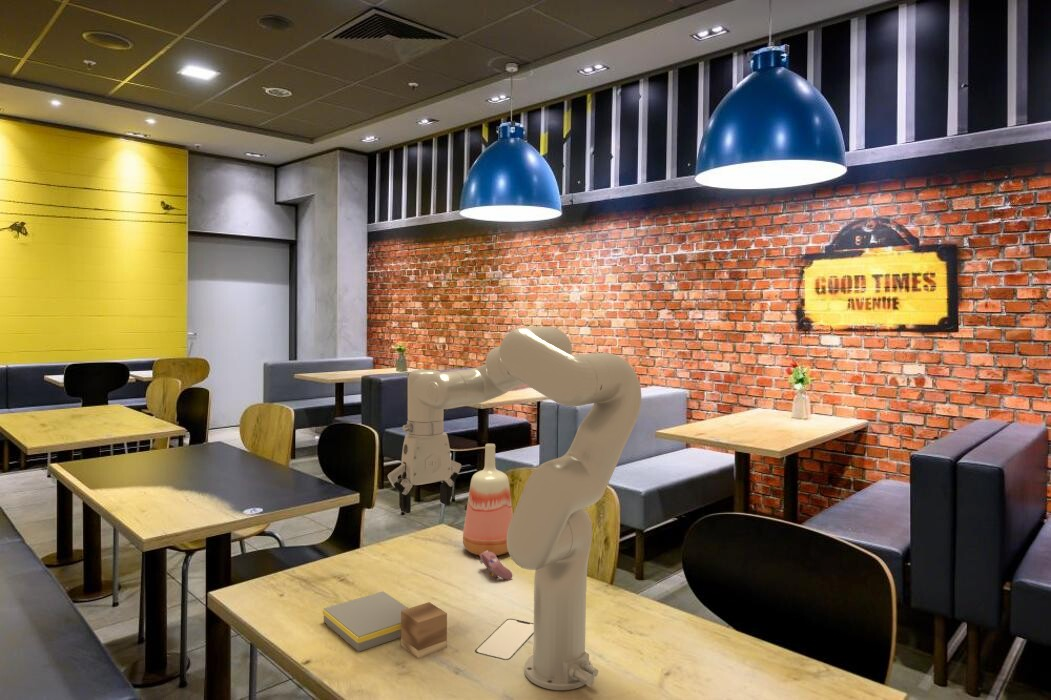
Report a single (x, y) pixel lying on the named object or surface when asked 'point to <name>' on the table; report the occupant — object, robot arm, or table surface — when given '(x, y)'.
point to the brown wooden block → (423, 629)
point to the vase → (488, 509)
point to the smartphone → (506, 639)
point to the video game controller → (495, 565)
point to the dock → (366, 620)
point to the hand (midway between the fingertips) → (425, 507)
